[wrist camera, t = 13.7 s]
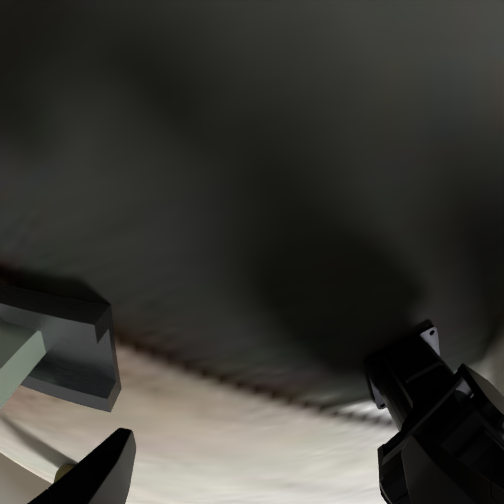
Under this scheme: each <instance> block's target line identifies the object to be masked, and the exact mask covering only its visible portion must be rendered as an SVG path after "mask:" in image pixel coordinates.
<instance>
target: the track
mask: <svg viewBox="0 0 504 504" xmlns="http://www.w3.org/2000/svg"><path fill="white" fill-rule="evenodd" d="M0 320H2V321H6V322H9V323H12V324H16V325H19V326H23V327H26V328H30V329H33V330H37V331H41V334H42V338H43V343H44V347H45V351H46V354H45V355H44V356H43V357H42V358H41V360H40V361H39V362H38V363H37V364H36V366H35V367H34V368H33V369H32V370H31V372H30V373H29V374H28V375H27V376H26V378H25V379H24V380H23V381H22V383H21V384H20V385H22V386H25V387H27V388H30V389H33V390H36V391H39V392H41V393H44V394H47V395H50V396H53V397H57V398H60V399H63V400H66V401H70V402H73V403H76V404H80V405H84V406H87V407H91V408H95V409H99V410H103V411H107V412H111V410H112V408H113V406H114V404H115V402H116V399H117V397H118V395H119V393H120V391H121V383H120V377H119V370H118V364H117V356H116V349H115V341H114V332H113V323H112V312H111V305H110V304H103V303H97V302H91V301H85V300H80V299H74V298H68V297H63V296H58V295H53V294H47V293H42V292H37V291H33V290H28V289H23V288H18V287H14V286H9V285H5V284H1V283H0Z"/></svg>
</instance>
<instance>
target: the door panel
mask: <svg viewBox="0 0 504 504" xmlns="http://www.w3.org/2000/svg"><path fill="white" fill-rule="evenodd" d="M45 354H46V351H45V347H44V343H43V338H42V334H41V331H37V330H33V329H30V328H26V327H23V326H19V325H16V324H12V323H9V322H6V321H2V320H0V409H1V408H2V407H3V405H4V404H5V403H6V402H7V400H8V399H9V398H10V396H11V395H12V394H13V393H14V391H15V390H16V389H17V388H18V386H19V385H20V384H21V383H22V381H23V380H24V379H25V378H26V376H27V375H28V374H29V373H30V372H31V370H32V369H33V368H34V367H35V366H36V364H37V363H38V362H39V361H40V360H41V358H42V357H43V356H44V355H45Z"/></svg>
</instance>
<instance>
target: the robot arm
mask: <svg viewBox="0 0 504 504" xmlns="http://www.w3.org/2000/svg"><path fill="white" fill-rule="evenodd" d="M430 331H432V332H430ZM370 361H372V362H371V363H369V362H370ZM364 365H365V368H366V371H367V375H368V378H369V381H370V385H371V388H372V392H373V395H374V399H375V402H376V406H377V408H378V409H384V408H386V407H387V408H388V410H389V412H390V414H391V416H392V418H393V420H394V422H395V424H396V426H397V428H398V430H399V432H398V433H397V434H396V435H395V436H394V437H392V438H391V439H390V440H389V441H388V442H387V443H386V444H383V445H382V446H380V447H379V448H378V464H379V484H380V491H381V495H382V497H383V498H384V500H385V501H386V503H387V504H504V397H503V396H502V395H501V393H500V392H499V391H498V390H497V389H496V388H495V387H494V386H493V385H492V384H491V383H490V382H489V381H488V380H487V379H485V378H484V377H482V376H481V375H479V374H478V373H476V372H475V371H473V370H472V369H471V368H469V367H468V366H466V365H465V364H463V363H462V364H461V366H460V367H459V368H458V369H457V370H458V371H457V372H456V373H455V374H454V373H453V372H452V371H451V369H450V368H449V367H448V366H447V365H446V363H445V362H444V361H443V360H442V359H441V357H440V352H439V342H438V333H437V328H436V327H435V326H434V325H429V326H428V327H426V328H424V329H422V330H420V331H418V332H416V333H414V334H413V335H411V336H409V337H407V338H405V339H403V340H401V341H399V342H397V343H395V344H393V345H391V346H389V347H387V348H385V349H383V350H381V351H378V352H376V353H374V354H372V355H370V356H368V357H366V359H365V360H364ZM135 454H136V443H135V439H134V434H133V431H132V430H130V429H125V428H118V429H117V430H116V431H115V432H114V433H113V434H111V435H110V436H109V437H108V438H107V439H106V440H104V441H103V442H102V443H101V444H100V445H99V446H98V447H96V448H95V449H94V450H93V451H92V452H91V453H89V454H88V455H87V456H86V457H85V458H83V459H82V460H81V461H80V462H79V463H78V464H76V465H75V466H74V467H73V468H72V469H70V470H69V471H68V472H67V473H66V474H64V475H63V476H62V477H61V478H60V479H58V480H57V481H56V482H55V483H53V484H52V485H51V486H50V487H49V488H48V489H46V490H45V491H44V492H42V493H41V494H40V495H39V496H37V497H36V498H34V499H33V500H32V501H30V502H29V503H27V504H125V502H126V499H127V496H128V492H129V488H130V482H131V476H132V471H133V465H134V459H135Z"/></svg>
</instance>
